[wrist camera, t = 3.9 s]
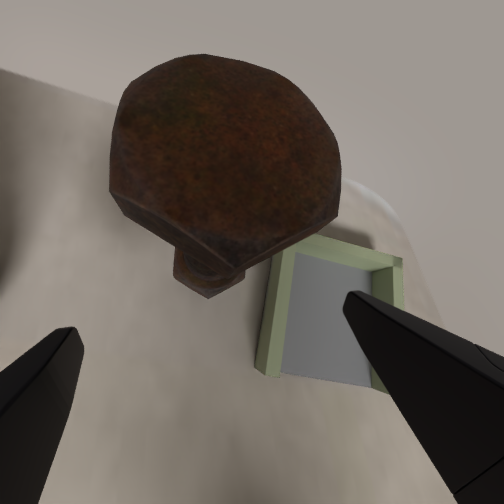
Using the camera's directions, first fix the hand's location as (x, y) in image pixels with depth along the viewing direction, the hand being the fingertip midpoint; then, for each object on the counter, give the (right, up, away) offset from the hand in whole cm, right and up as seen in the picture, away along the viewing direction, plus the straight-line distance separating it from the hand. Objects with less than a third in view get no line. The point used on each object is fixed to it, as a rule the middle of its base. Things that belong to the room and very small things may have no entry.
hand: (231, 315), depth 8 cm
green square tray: (+7, -3, +13) cm, 15 cm away
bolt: (-3, 0, +12) cm, 12 cm away
